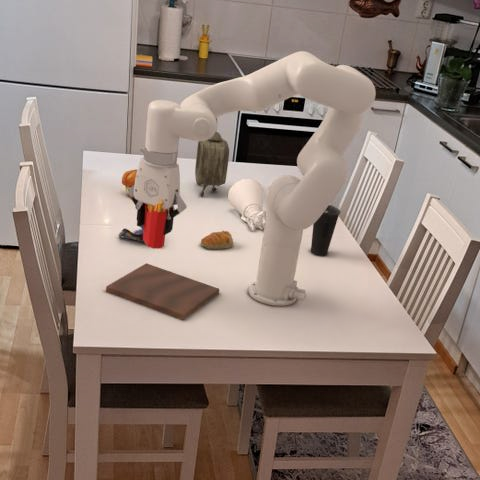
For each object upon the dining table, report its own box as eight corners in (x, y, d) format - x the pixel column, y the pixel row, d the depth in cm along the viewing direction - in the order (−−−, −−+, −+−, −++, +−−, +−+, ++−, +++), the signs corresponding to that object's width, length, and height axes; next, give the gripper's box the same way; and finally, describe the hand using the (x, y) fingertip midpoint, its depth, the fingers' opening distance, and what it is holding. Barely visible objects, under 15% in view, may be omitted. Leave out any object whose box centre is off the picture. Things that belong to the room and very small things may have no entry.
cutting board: (218, 294, 204) (219, 288, 204) (183, 320, 189) (183, 314, 189) (145, 268, 212) (146, 263, 211) (105, 291, 197) (106, 286, 196)
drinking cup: (336, 254, 237) (350, 190, 228) (321, 260, 232) (334, 194, 223) (316, 245, 242) (328, 182, 232) (300, 250, 236) (312, 186, 227)
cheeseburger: (156, 203, 254) (151, 173, 250) (123, 206, 255) (117, 176, 250) (159, 191, 263) (154, 162, 259) (127, 195, 264) (121, 166, 259)
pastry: (209, 252, 226) (210, 240, 224) (194, 243, 231) (196, 231, 229) (234, 247, 232) (236, 235, 230) (220, 238, 236) (222, 226, 235)
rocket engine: (266, 204, 239) (252, 172, 252) (233, 224, 241) (221, 191, 254) (284, 229, 246) (269, 196, 259) (252, 248, 249) (238, 215, 261)
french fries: (139, 235, 196) (144, 185, 190) (156, 235, 198) (161, 185, 192) (150, 251, 189) (155, 199, 183) (168, 250, 190) (173, 199, 184)
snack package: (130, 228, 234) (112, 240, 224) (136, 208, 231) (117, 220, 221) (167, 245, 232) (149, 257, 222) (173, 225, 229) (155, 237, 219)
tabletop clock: (193, 183, 276) (201, 111, 265) (219, 185, 278) (228, 113, 267) (196, 198, 264) (205, 123, 252) (223, 200, 265) (233, 125, 254)
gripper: (119, 150, 183) (114, 223, 192) (185, 169, 177) (176, 244, 186) (138, 143, 190) (132, 214, 198) (201, 162, 183) (193, 234, 192)
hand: (154, 228), depth 192 cm, fingers closed on french fries, 6 cm apart
